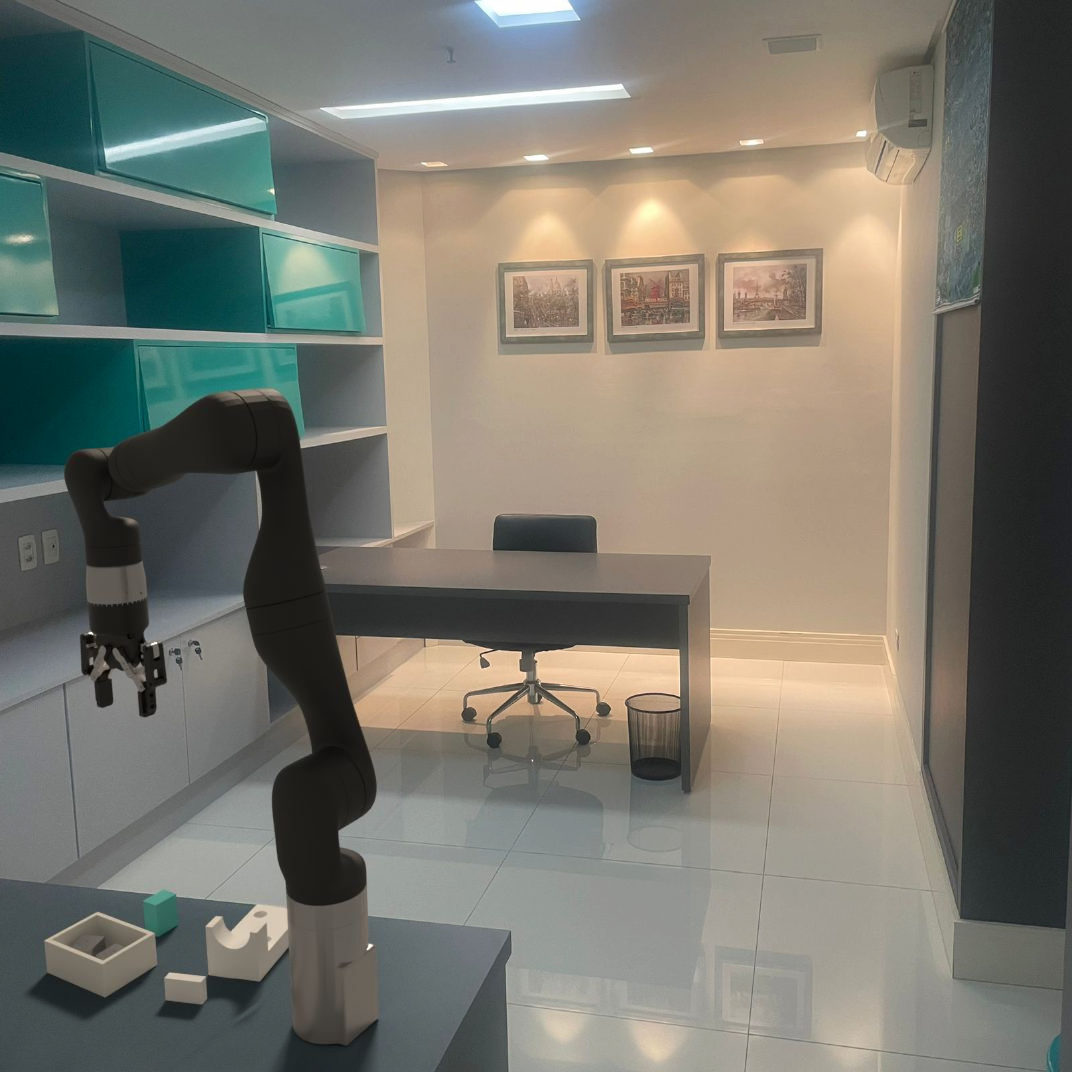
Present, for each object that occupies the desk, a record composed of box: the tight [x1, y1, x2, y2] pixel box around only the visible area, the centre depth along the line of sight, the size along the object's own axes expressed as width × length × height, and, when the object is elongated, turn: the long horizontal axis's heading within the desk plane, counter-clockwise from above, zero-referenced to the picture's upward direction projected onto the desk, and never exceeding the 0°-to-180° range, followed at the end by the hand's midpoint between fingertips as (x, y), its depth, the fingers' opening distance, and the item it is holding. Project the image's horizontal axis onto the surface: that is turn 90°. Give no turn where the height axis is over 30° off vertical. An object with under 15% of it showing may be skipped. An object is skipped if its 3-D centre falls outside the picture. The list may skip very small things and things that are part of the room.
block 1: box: [71, 935, 106, 957], centre depth 136 cm, size 3×3×3 cm
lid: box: [142, 889, 179, 938], centre depth 146 cm, size 12×9×6 cm
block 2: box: [96, 944, 125, 960], centre depth 133 cm, size 3×3×3 cm
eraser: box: [163, 972, 208, 1005], centre depth 128 cm, size 1×5×4 cm, turn 79°
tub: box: [43, 911, 158, 998], centre depth 135 cm, size 11×8×5 cm
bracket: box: [205, 903, 289, 982], centre depth 138 cm, size 13×7×8 cm, turn 167°
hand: (126, 710), depth 144 cm, fingers open, 8 cm apart
